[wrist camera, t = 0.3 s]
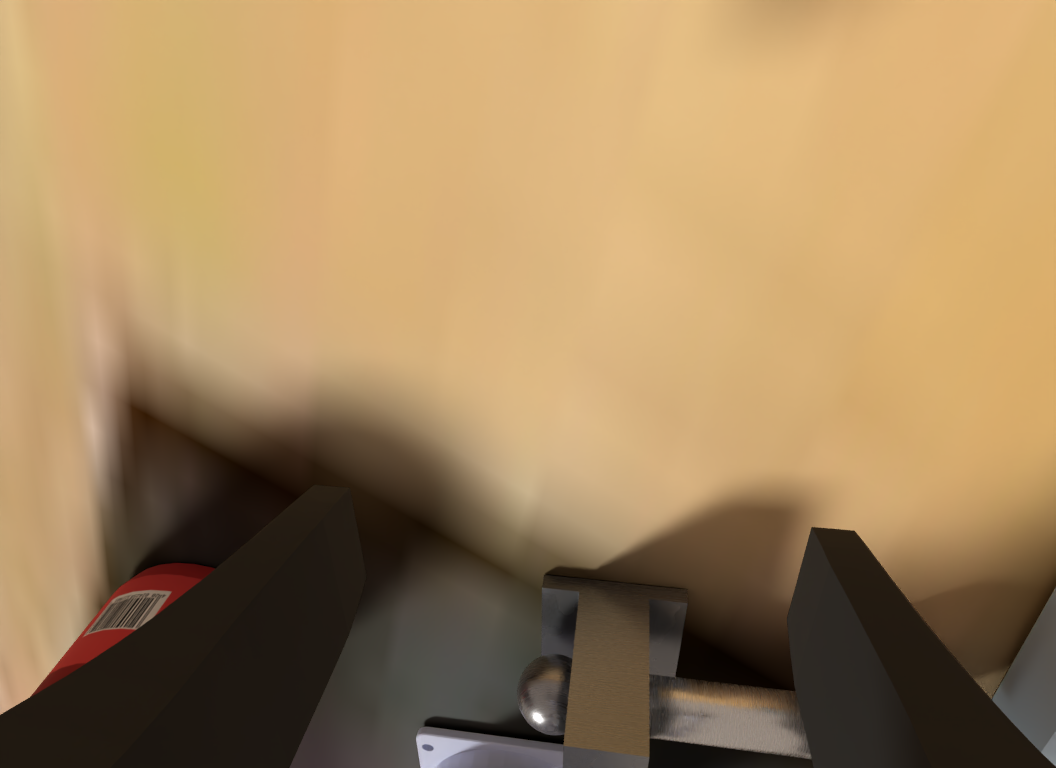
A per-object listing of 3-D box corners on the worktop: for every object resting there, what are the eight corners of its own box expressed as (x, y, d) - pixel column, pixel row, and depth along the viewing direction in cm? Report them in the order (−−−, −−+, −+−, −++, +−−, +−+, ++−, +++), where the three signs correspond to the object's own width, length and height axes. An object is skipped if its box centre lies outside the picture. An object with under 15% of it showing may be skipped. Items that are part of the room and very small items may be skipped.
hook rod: (906, 714, 26) (943, 828, 23) (527, 668, 28) (510, 768, 25) (939, 643, 24) (986, 758, 21) (526, 598, 26) (508, 698, 23)
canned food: (102, 629, 31) (-123, 920, 22) (148, 524, 27) (-106, 830, 18) (261, 704, 33) (111, 1007, 24) (328, 615, 29) (178, 942, 19)
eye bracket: (669, 694, 28) (673, 867, 23) (542, 679, 29) (520, 844, 24) (686, 589, 25) (696, 763, 20) (544, 574, 26) (517, 739, 20)
